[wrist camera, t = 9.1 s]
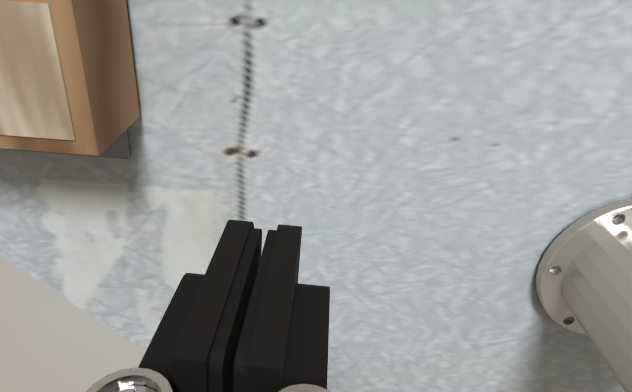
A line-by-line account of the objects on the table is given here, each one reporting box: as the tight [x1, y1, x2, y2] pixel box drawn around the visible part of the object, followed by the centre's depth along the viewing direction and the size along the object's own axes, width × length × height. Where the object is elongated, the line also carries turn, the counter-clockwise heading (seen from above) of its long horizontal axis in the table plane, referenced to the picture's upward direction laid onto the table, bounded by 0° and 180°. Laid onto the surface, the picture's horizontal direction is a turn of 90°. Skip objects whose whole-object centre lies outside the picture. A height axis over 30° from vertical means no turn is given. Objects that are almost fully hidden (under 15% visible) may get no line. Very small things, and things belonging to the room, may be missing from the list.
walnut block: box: [0, 0, 140, 156], centre depth 24 cm, size 6×8×11 cm
